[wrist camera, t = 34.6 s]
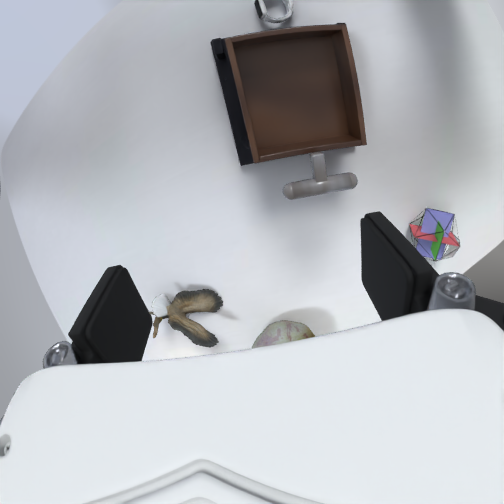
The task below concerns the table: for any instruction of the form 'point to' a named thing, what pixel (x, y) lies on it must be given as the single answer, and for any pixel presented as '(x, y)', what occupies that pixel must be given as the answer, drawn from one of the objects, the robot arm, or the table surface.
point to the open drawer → (299, 99)
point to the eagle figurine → (187, 314)
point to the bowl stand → (234, 98)
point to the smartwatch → (263, 15)
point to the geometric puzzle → (435, 235)
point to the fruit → (282, 333)
